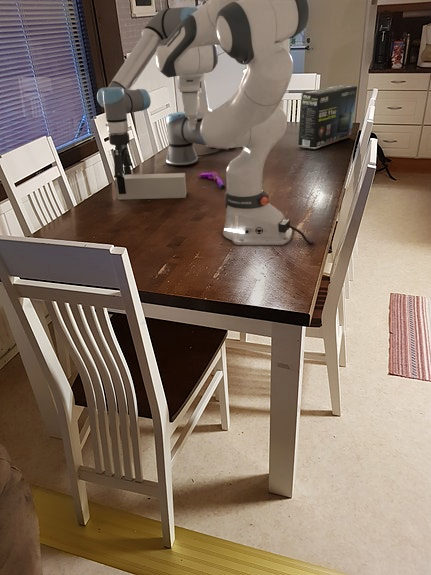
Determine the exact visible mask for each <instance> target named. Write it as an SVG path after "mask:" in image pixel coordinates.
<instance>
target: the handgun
mask: <svg viewBox="0 0 431 575" xmlns="http://www.w3.org/2000/svg"><path fill="white" fill-rule="evenodd" d="M199 178H200V179H202V178H208V179H209V180H213V181H214V182H215V183H217V184H218V186H219V188H220V189H221V190H225V189H226V186H225V183H224V182H223V180H222V179H221V178H220V177H219V175H218V172H216V171H211V172H201V173H200V172H199Z"/></svg>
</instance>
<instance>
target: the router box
mask: <svg viewBox="0 0 431 575" xmlns="http://www.w3.org/2000/svg"><path fill="white" fill-rule="evenodd" d="M357 93H358V86H356V85H350V84H339V85H338V84H337V85H334V86H328V87H324V88H318V89H314V90H309V91H304V92H301V93H300V109H299V110H300V111H299V124H298V137H297V146H298V145H302V146H307V147H317V146H320V145H323V144H325V143H328V142H331V141H333V140H336V139H338V138H341V137H344V136H347V135H351V136H352V133H353V132H352V131H353V125H354V115H355V109H356V99H357ZM311 151H313V150H312V149H311Z"/></svg>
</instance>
